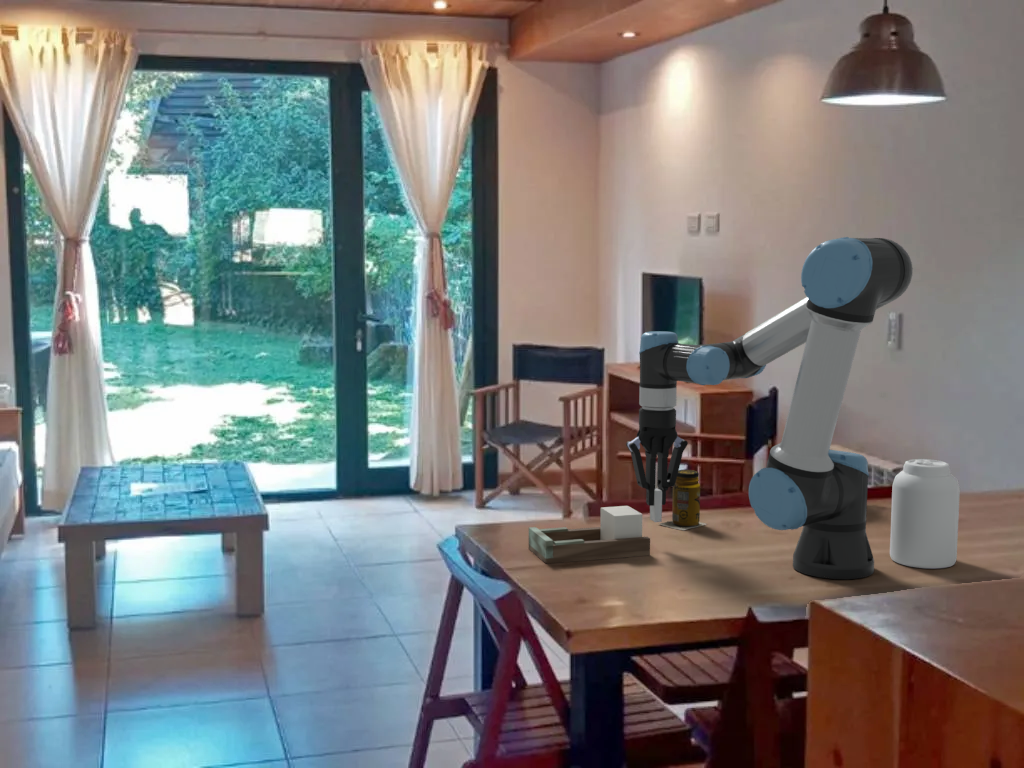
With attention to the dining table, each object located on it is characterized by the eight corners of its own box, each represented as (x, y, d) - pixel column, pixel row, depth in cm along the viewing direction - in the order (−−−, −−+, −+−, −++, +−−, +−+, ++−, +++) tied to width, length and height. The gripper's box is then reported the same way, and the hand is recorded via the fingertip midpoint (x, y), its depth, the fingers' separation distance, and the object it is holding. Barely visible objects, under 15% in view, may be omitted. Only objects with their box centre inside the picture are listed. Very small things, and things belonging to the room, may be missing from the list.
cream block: (641, 548, 242) (642, 514, 241) (614, 550, 240) (614, 516, 239) (627, 538, 250) (627, 505, 249) (600, 540, 248) (600, 507, 247)
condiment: (707, 524, 266) (708, 471, 265) (684, 531, 261) (684, 477, 259) (681, 519, 272) (682, 467, 270) (657, 525, 266) (658, 472, 264)
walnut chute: (649, 555, 241) (650, 533, 240) (545, 563, 235) (545, 541, 234) (628, 541, 252) (628, 520, 251) (528, 548, 246) (528, 527, 245)
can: (876, 556, 240) (880, 458, 237) (927, 550, 244) (931, 454, 242) (918, 572, 228) (922, 469, 226) (970, 566, 232) (975, 465, 230)
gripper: (679, 403, 249) (677, 514, 252) (621, 406, 246) (619, 518, 248) (694, 408, 242) (692, 522, 245) (634, 411, 238) (632, 526, 241)
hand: (655, 520), depth 247 cm, fingers closed
